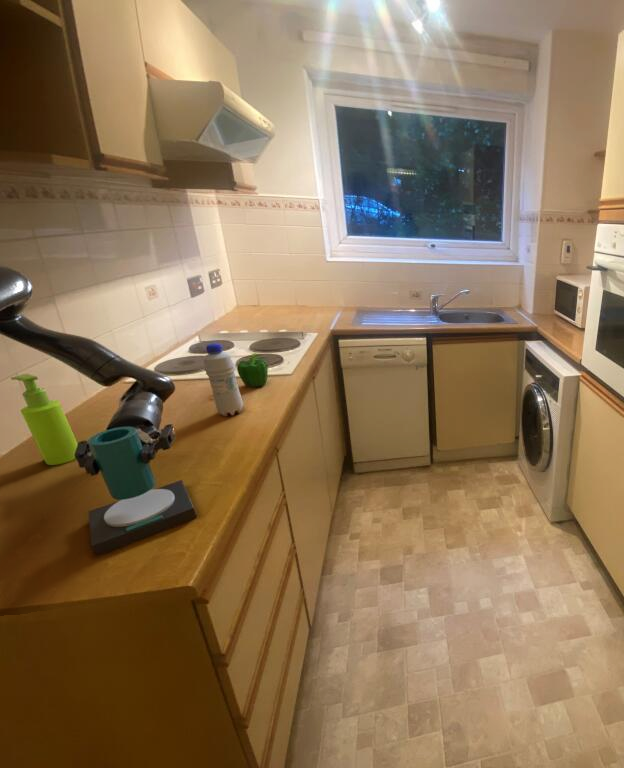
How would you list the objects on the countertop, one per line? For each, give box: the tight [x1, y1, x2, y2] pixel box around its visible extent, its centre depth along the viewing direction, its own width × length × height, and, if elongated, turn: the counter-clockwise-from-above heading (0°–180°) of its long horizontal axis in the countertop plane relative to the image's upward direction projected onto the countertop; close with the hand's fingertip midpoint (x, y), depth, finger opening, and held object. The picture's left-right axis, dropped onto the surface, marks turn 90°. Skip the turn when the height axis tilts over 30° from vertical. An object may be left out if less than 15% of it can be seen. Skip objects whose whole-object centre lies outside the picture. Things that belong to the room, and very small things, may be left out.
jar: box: [87, 427, 157, 501], centre depth 75 cm, size 6×6×11 cm
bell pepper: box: [237, 352, 269, 388], centre depth 137 cm, size 8×8×10 cm
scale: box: [88, 479, 198, 557], centre depth 79 cm, size 14×12×3 cm
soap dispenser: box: [10, 373, 78, 466], centre depth 95 cm, size 6×7×20 cm
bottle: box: [203, 342, 244, 417], centre depth 117 cm, size 7×7×20 cm
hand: (118, 464), depth 73 cm, fingers closed on jar, 6 cm apart
